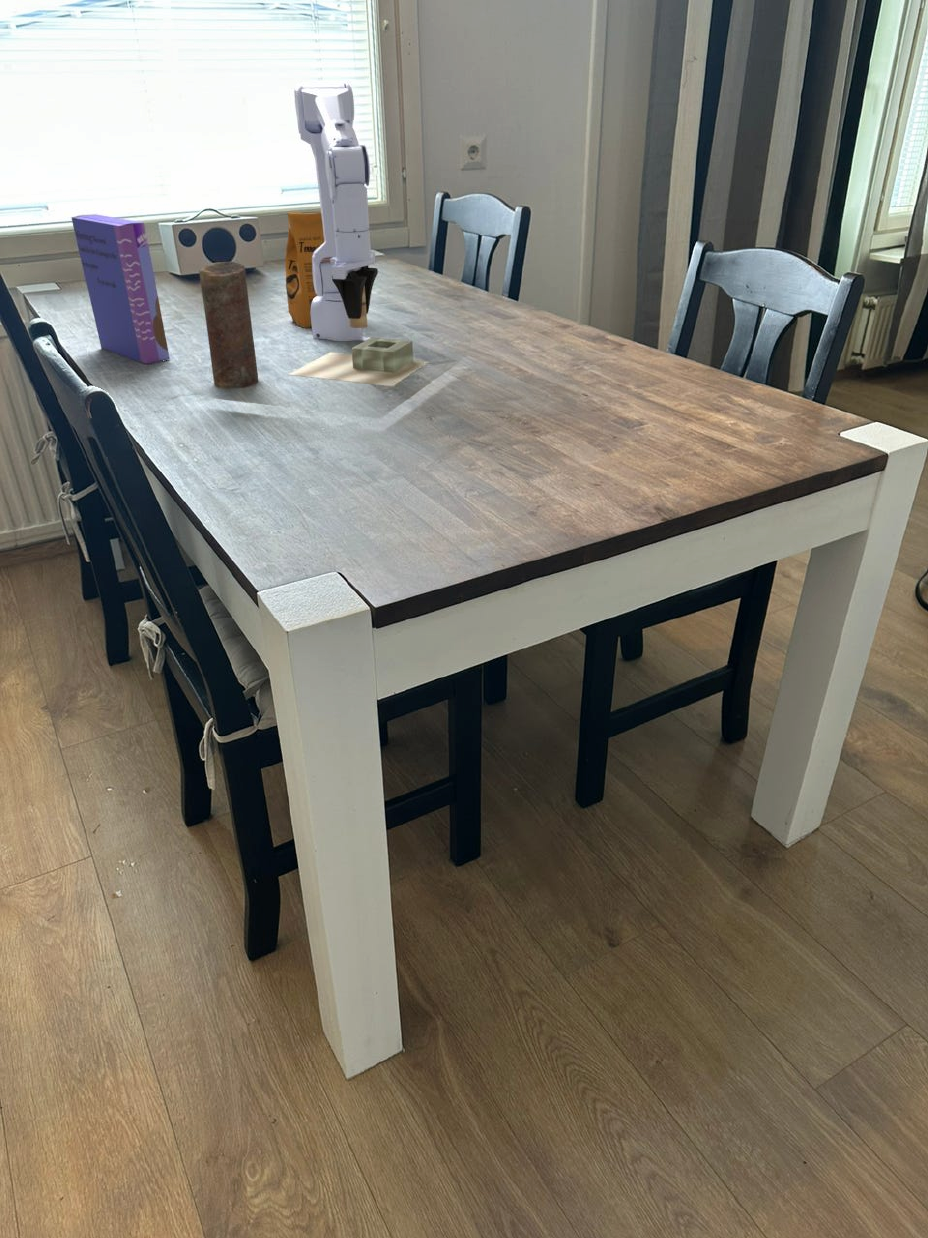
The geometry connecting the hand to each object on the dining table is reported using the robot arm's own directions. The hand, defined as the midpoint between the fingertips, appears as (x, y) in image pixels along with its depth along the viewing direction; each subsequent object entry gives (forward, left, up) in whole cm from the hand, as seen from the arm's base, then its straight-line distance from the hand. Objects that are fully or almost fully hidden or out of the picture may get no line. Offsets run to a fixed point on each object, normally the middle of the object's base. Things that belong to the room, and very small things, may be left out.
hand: (358, 315), depth 149 cm
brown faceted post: (-16, -15, -10) cm, 24 cm away
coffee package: (-27, +33, -10) cm, 44 cm away
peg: (0, 0, -2) cm, 2 cm away
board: (0, -1, -10) cm, 10 cm away
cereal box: (-48, -2, -10) cm, 49 cm away
